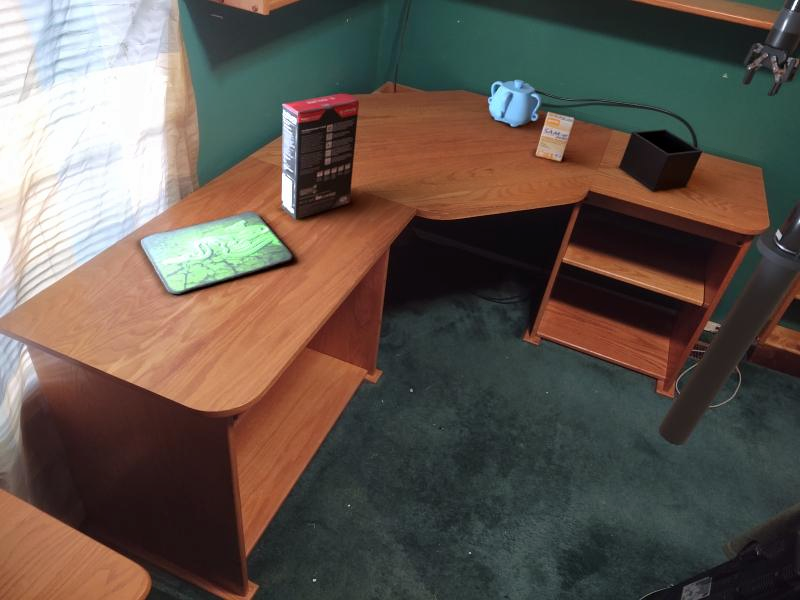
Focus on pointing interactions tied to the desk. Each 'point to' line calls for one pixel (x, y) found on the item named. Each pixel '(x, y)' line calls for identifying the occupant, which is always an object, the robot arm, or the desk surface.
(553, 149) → the supplement box
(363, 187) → the desk surface
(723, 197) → the desk surface
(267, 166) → the desk surface
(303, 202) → the graphics card box
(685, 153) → the waste bin
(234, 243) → the mouse mat
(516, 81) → the decorative pot
